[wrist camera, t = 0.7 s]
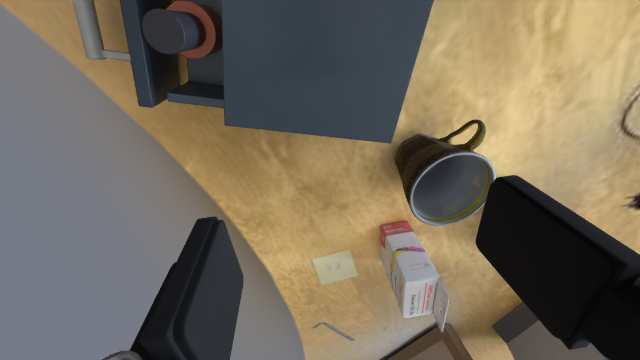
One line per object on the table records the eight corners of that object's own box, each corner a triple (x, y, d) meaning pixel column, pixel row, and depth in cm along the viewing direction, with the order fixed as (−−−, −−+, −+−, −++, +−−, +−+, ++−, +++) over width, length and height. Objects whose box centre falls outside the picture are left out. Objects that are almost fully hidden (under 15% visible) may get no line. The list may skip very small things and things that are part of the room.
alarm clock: (526, 336, 69) (606, 442, 52) (485, 324, 64) (558, 436, 47) (597, 287, 61) (720, 393, 43) (556, 269, 56) (677, 379, 39)
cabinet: (240, 101, 33) (224, 125, 25) (240, -51, 26) (219, -83, 18) (368, 117, 35) (391, 143, 28) (401, -17, 28) (443, -33, 21)
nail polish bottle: (178, 0, 26) (121, -13, 17) (225, 8, 26) (194, 0, 18) (182, 50, 28) (134, 61, 19) (226, 56, 28) (199, 70, 20)
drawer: (122, 83, 30) (77, 99, 24) (90, -75, 23) (16, -112, 17) (304, 106, 33) (307, 125, 27) (320, -28, 27) (329, -44, 20)
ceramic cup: (430, 190, 42) (465, 232, 34) (373, 177, 40) (395, 219, 32) (474, 111, 36) (531, 138, 28) (410, 92, 34) (450, 114, 26)
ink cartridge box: (378, 224, 45) (413, 302, 32) (407, 219, 45) (453, 295, 32) (379, 259, 49) (410, 340, 37) (405, 255, 49) (445, 334, 37)
